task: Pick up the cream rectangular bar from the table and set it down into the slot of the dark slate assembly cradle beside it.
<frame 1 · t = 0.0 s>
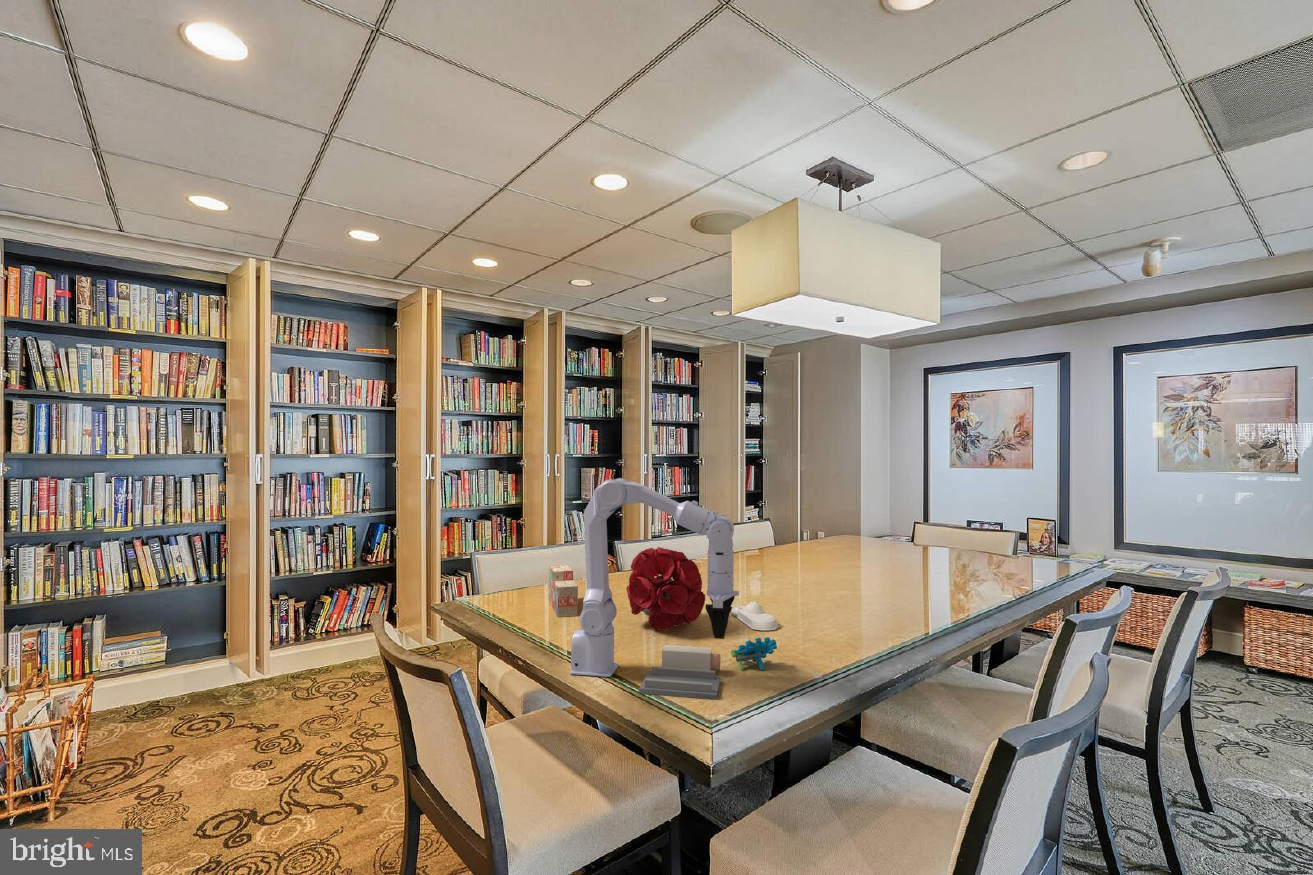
hand: (720, 633, 131), 10 cm above the table, tool pointing down, fingers open, 7 cm apart
cradle: (680, 687, 126), on the table
stack of blocks: (562, 609, 191), on the table
cream rectangular bar: (687, 671, 136), on the table
blue brick toy animal: (754, 667, 139), on the table
bouquet: (662, 625, 173), on the table
white domed paddle shape: (753, 623, 176), on the table
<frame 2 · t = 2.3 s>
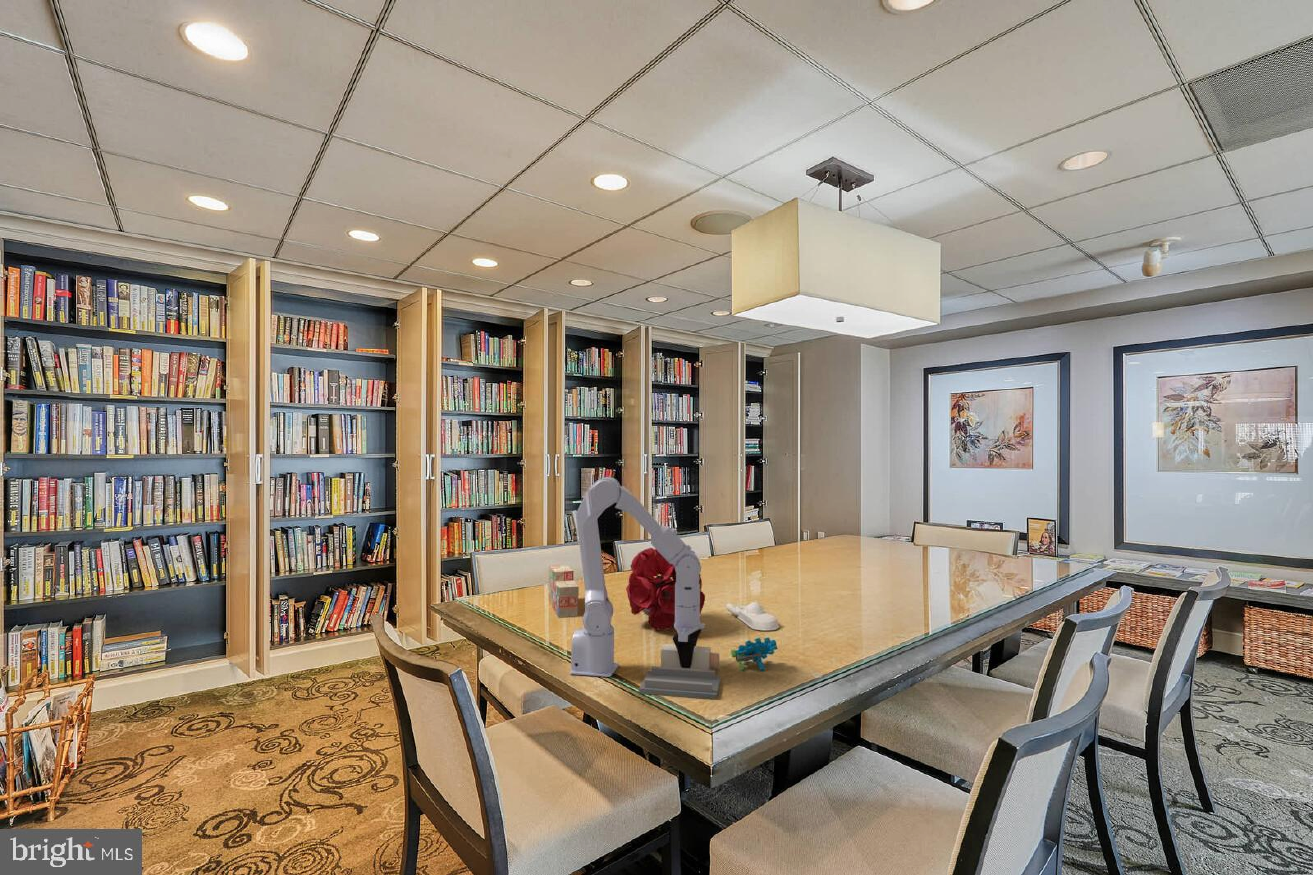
hand: (687, 664, 136), 1 cm above the table, tool pointing down, fingers closed on cream rectangular bar, 4 cm apart
cream rectangular bar: (686, 670, 136), on the table, touching gripper
everything else where it was.
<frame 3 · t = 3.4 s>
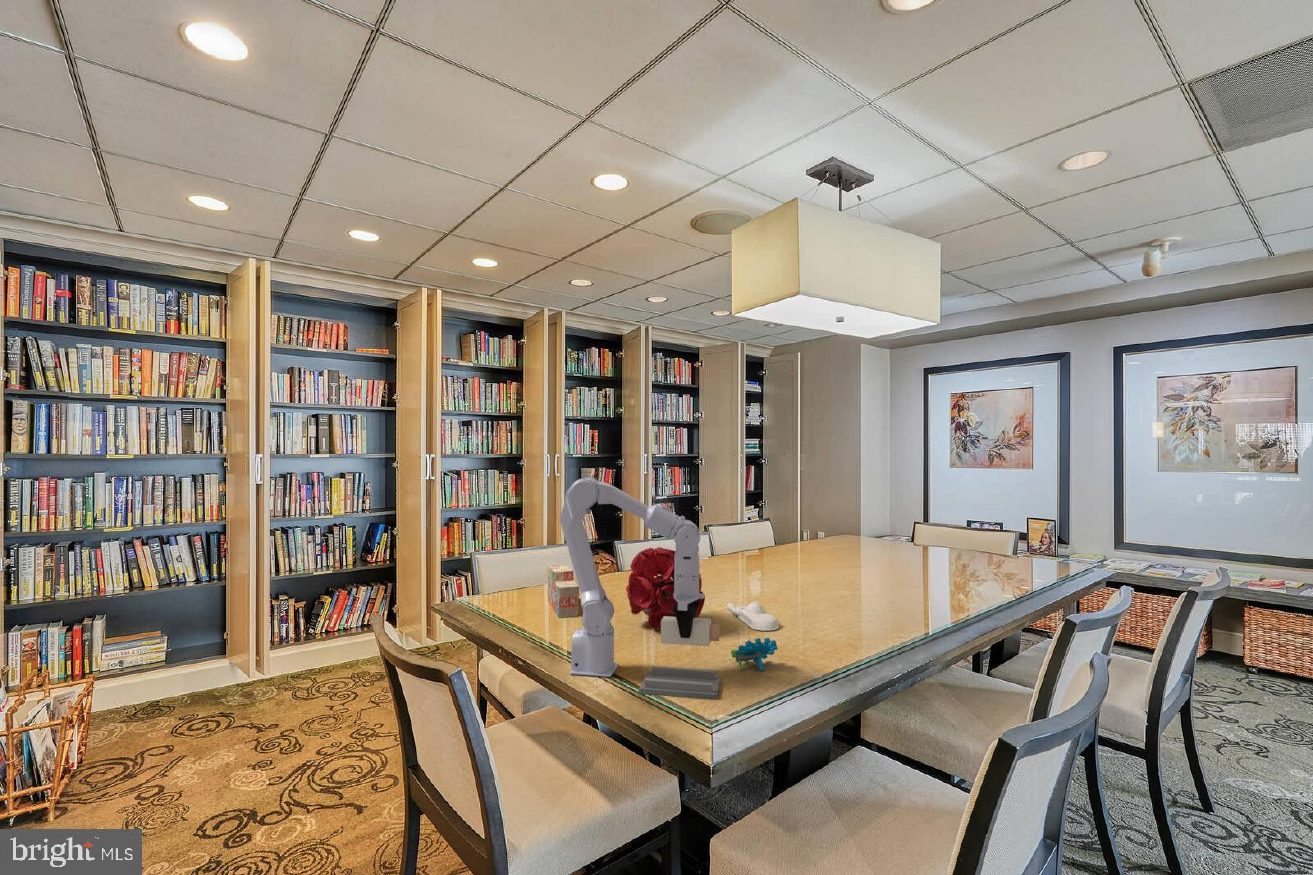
hand: (686, 634, 135), 8 cm above the table, tool pointing down, fingers closed on cream rectangular bar, 4 cm apart
cream rectangular bar: (686, 642, 135), point 7 cm above the table, touching gripper
everything else where it was.
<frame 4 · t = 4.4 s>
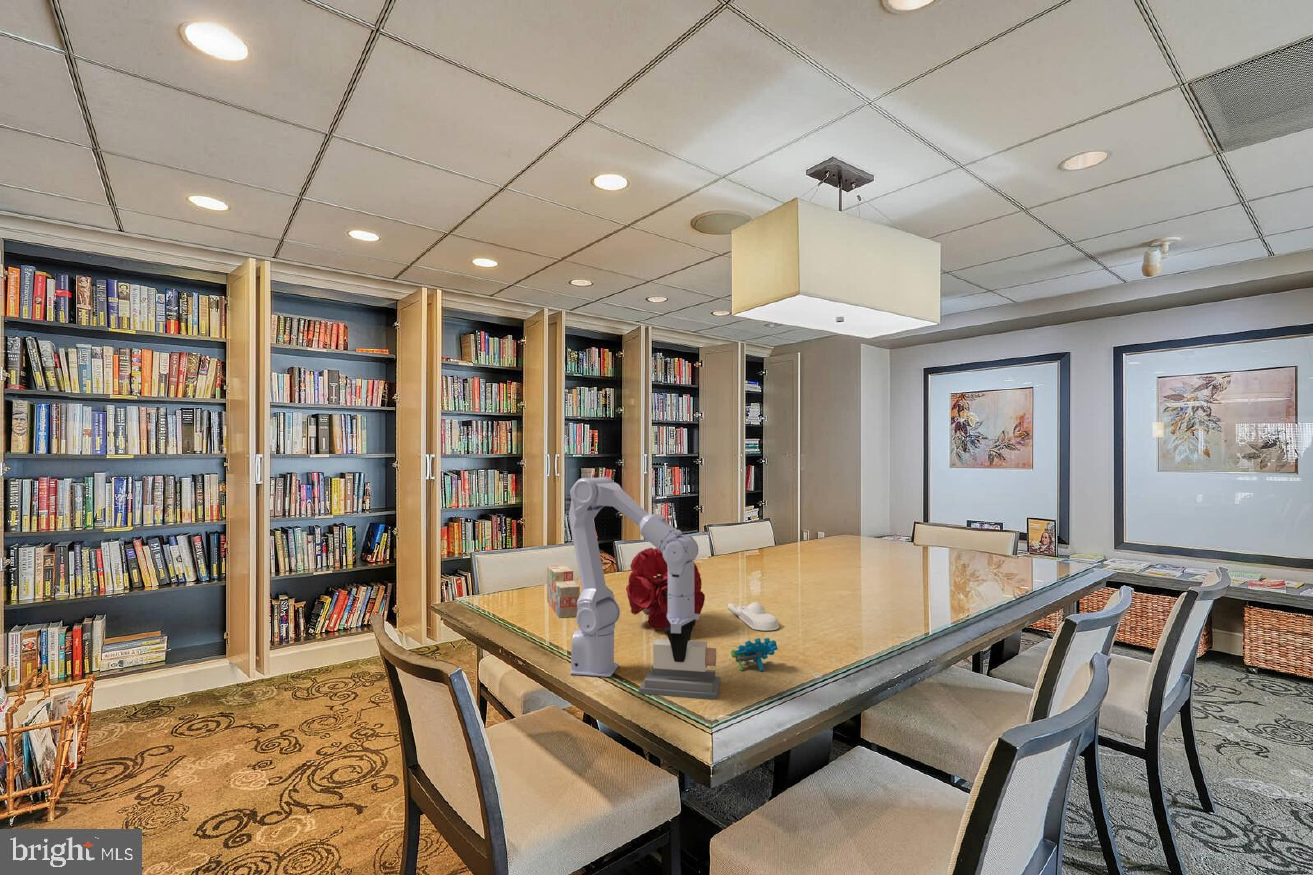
hand: (681, 657, 126), 6 cm above the table, tool pointing down, fingers closed on cream rectangular bar, 4 cm apart
cream rectangular bar: (680, 666, 126), point 4 cm above the table, touching gripper
everything else where it was.
when the fingers open (3 cm above the table, at t = 5.7 s): cream rectangular bar stays where it is, resting on cradle.
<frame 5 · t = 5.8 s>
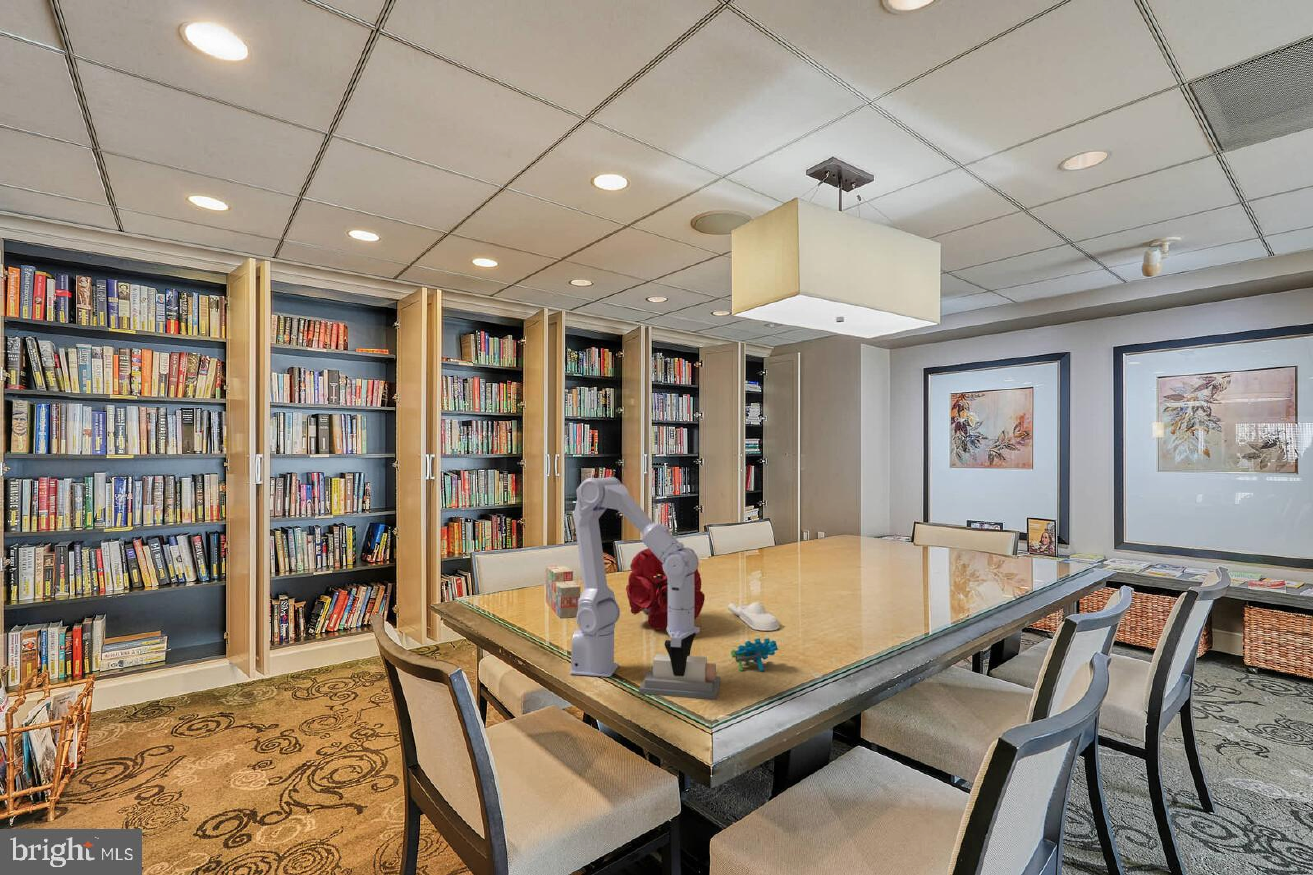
hand: (680, 670, 126), 3 cm above the table, tool pointing down, fingers open, 5 cm apart
cream rectangular bar: (680, 682, 126), point 1 cm above the table, touching cradle
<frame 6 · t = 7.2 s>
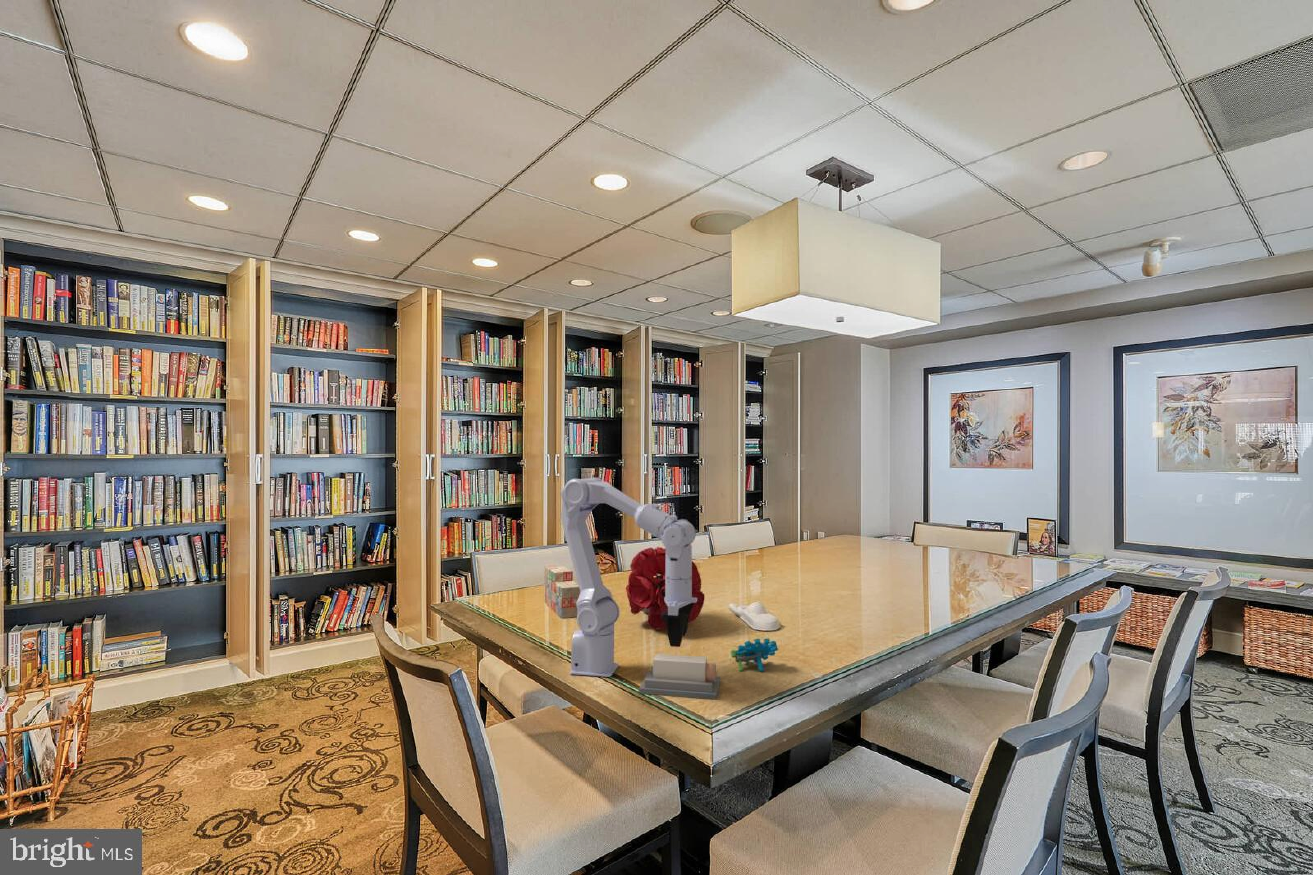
hand: (678, 640, 128), 9 cm above the table, tool pointing down, fingers open, 7 cm apart
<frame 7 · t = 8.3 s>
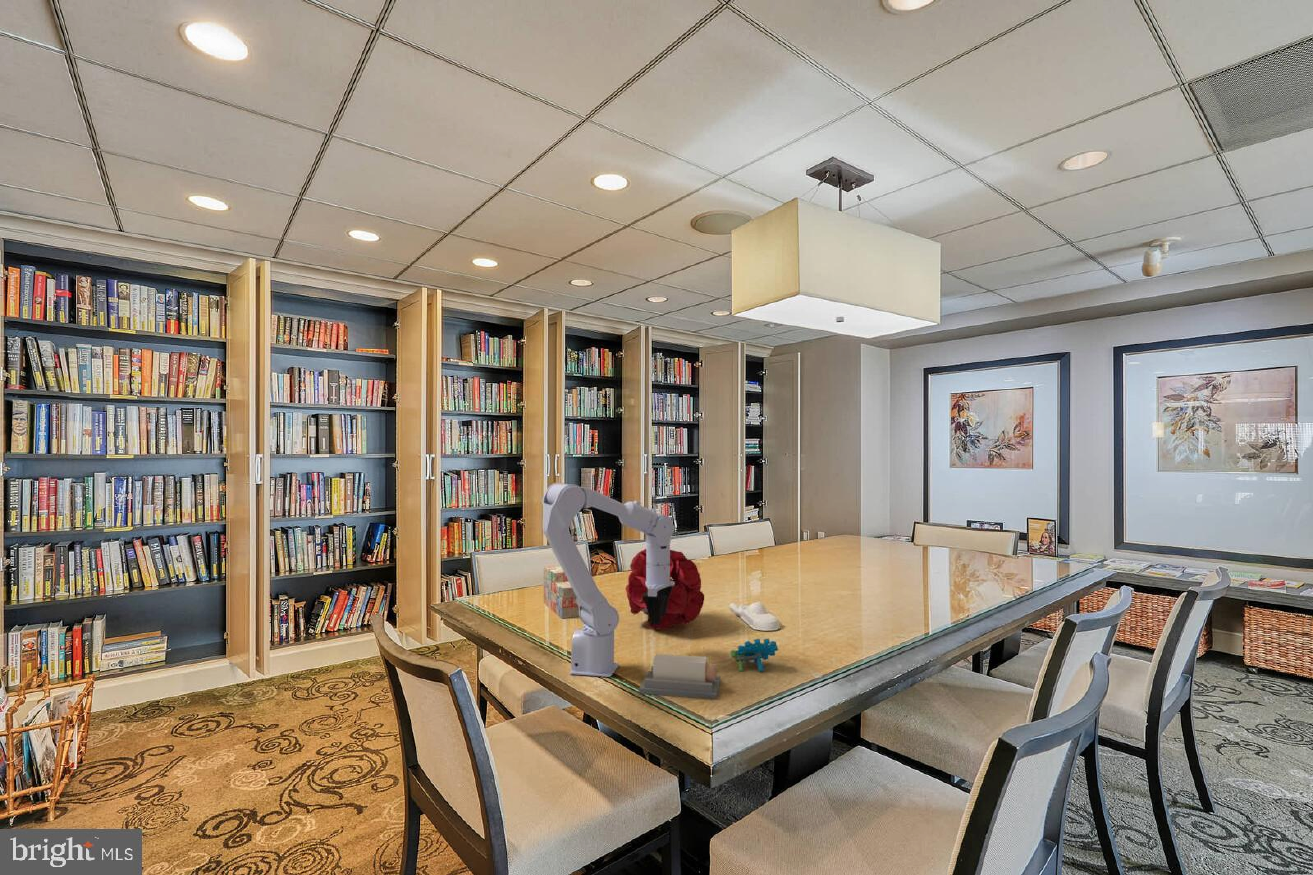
hand: (657, 619, 144), 9 cm above the table, tool pointing down, fingers open, 7 cm apart
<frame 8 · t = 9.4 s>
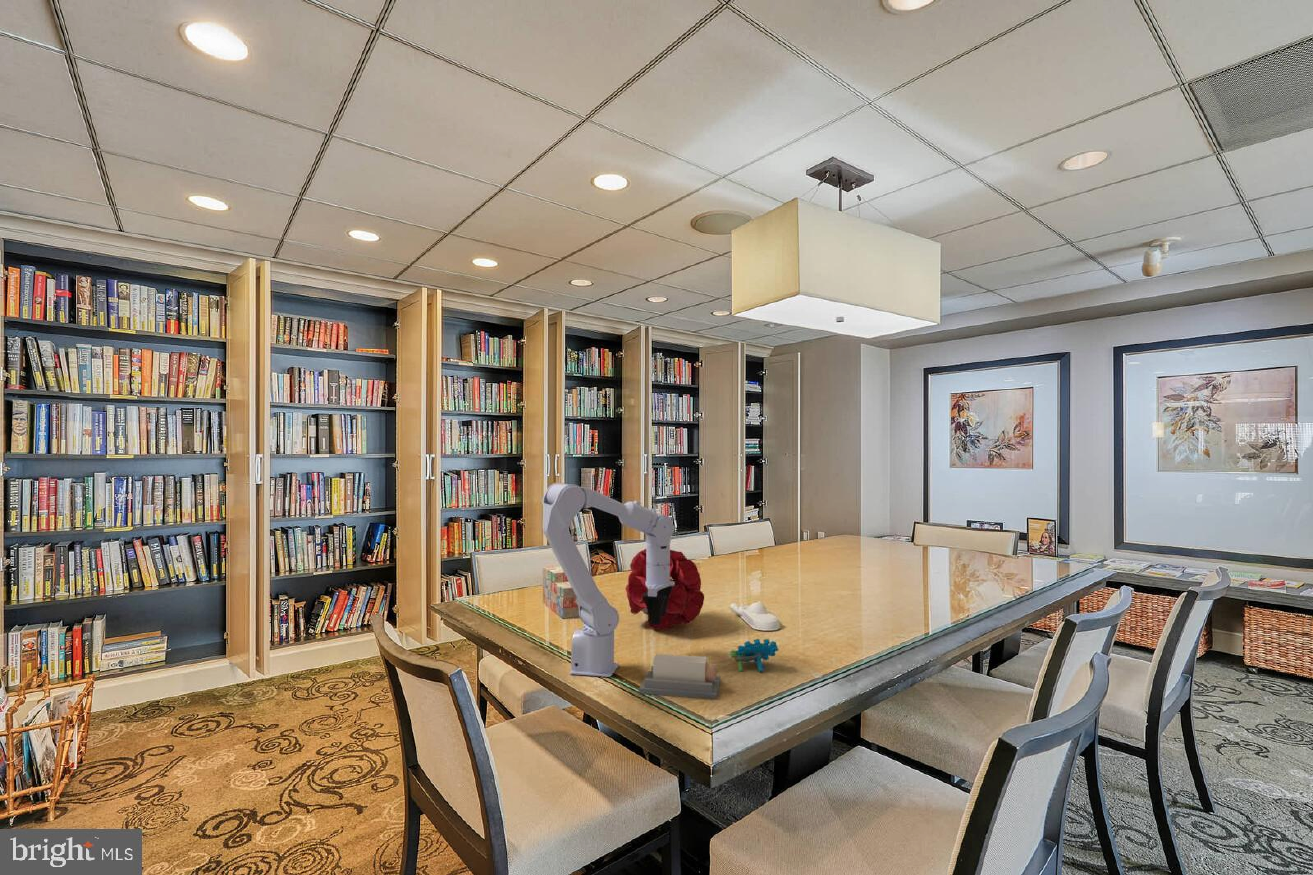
hand: (657, 619, 144), 9 cm above the table, tool pointing down, fingers open, 7 cm apart
at the end: cream rectangular bar 0.1 cm off-centre on the cradle, point 1.0 cm above the cradle's base; cream rectangular bar tilted 0°; the gripper is holding nothing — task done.
